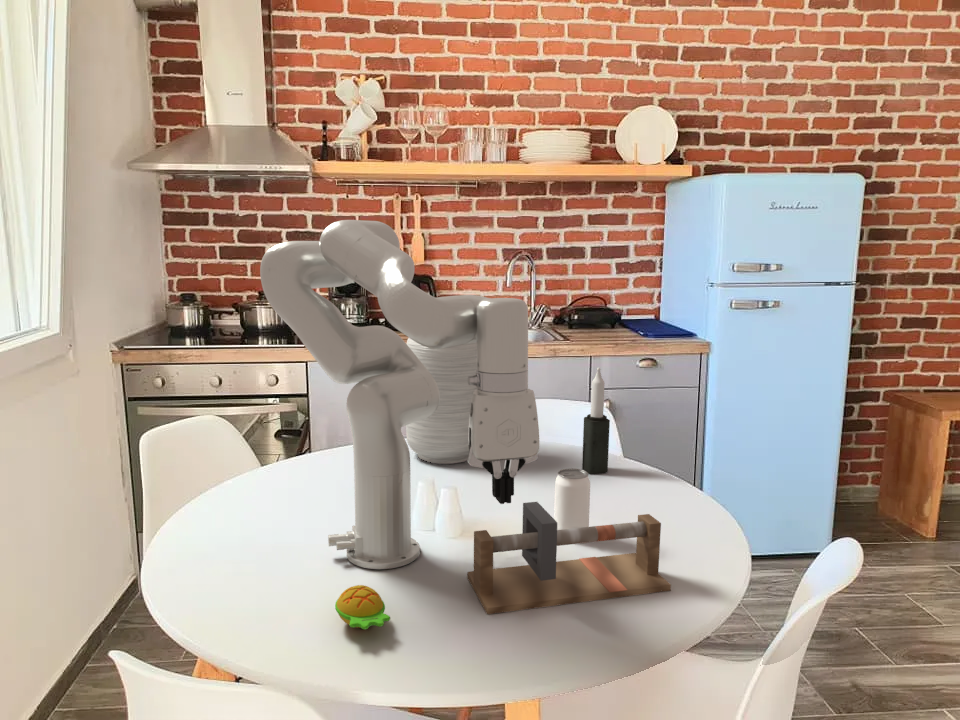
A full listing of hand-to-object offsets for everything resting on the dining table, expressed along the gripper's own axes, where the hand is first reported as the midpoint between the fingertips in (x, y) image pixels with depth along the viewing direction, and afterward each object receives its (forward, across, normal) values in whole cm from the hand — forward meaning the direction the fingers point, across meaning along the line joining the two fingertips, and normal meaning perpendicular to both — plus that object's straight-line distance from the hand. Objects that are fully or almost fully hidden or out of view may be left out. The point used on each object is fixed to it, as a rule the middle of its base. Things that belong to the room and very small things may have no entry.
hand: (503, 500), depth 109 cm
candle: (+15, +39, +53) cm, 67 cm away
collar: (+12, +6, +1) cm, 13 cm away
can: (+15, +19, +19) cm, 31 cm away
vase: (+14, +7, +73) cm, 74 cm away
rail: (+15, +11, +1) cm, 19 cm away
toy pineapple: (+15, -22, -4) cm, 27 cm away
